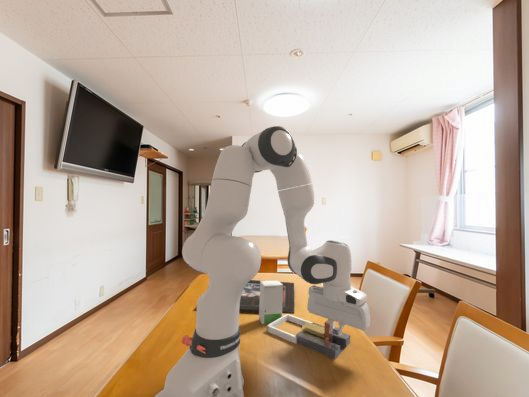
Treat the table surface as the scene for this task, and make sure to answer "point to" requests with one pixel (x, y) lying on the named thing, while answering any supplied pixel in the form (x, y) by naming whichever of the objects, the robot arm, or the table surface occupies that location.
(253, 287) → the religious icon
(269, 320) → the skincare box
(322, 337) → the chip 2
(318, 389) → the table surface
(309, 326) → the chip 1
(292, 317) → the tray
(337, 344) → the slot bed
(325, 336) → the copper metal bar
